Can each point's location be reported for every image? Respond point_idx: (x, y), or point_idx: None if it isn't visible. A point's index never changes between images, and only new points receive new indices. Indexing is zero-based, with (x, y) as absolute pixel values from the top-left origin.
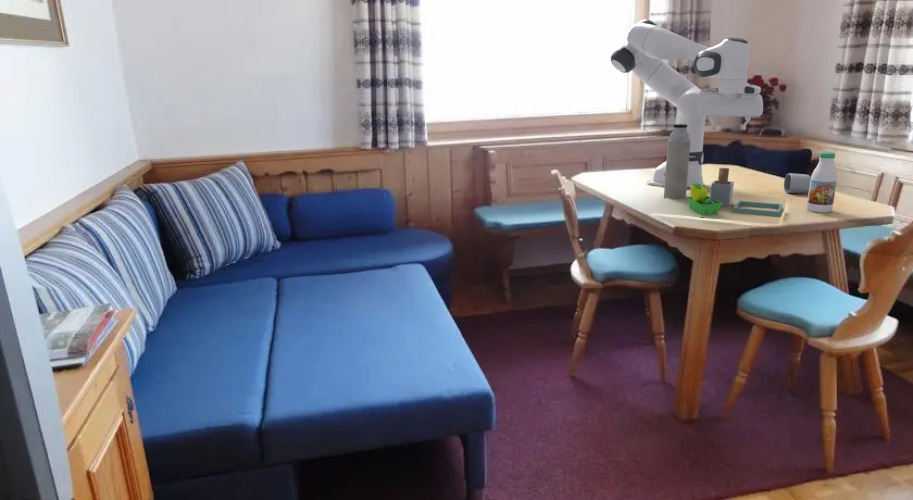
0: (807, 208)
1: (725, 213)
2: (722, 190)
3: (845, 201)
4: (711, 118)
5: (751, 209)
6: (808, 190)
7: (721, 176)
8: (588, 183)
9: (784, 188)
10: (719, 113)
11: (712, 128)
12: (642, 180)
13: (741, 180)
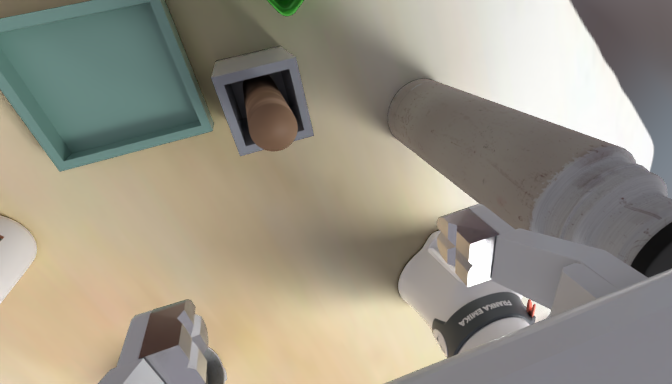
0: (15, 223)
1: (198, 2)
2: (245, 65)
3: (33, 368)
4: (582, 269)
5: (79, 3)
6: None
7: (269, 95)
8: (640, 141)
9: (219, 360)
10: (562, 360)
11: (469, 208)
12: None
13: (344, 370)
